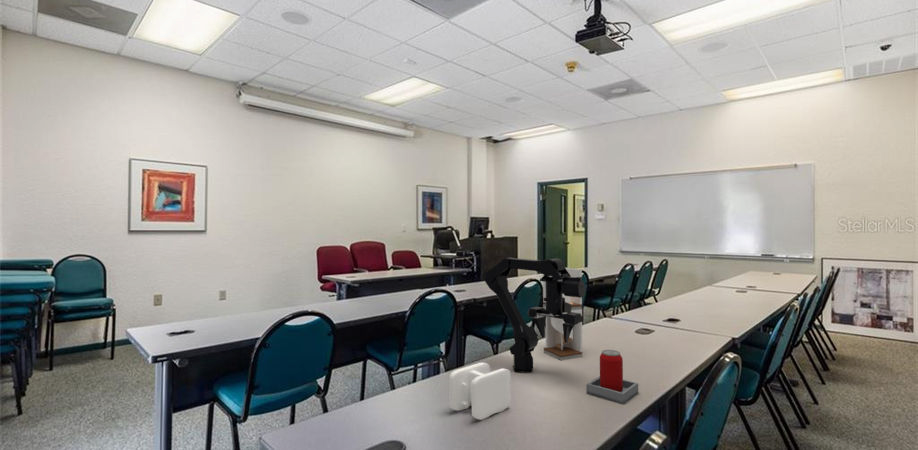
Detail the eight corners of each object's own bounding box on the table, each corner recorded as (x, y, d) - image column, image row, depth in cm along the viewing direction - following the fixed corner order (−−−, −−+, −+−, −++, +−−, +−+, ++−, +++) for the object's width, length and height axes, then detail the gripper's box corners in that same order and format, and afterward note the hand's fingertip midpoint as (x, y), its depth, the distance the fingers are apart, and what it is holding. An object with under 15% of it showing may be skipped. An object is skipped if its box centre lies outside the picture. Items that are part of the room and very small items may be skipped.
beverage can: (618, 386, 133) (618, 349, 134) (626, 395, 127) (625, 355, 127) (597, 386, 134) (596, 349, 134) (603, 394, 127) (603, 355, 127)
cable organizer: (473, 425, 110) (473, 380, 110) (447, 412, 118) (447, 370, 118) (511, 408, 120) (511, 368, 120) (485, 397, 127) (484, 359, 128)
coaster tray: (586, 393, 130) (586, 384, 130) (602, 383, 138) (602, 374, 138) (623, 404, 122) (623, 394, 122) (638, 392, 130) (638, 383, 130)
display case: (543, 352, 173) (542, 268, 173) (564, 349, 178) (563, 267, 178) (561, 360, 163) (560, 271, 163) (582, 356, 167) (581, 269, 168)
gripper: (590, 295, 144) (590, 340, 143) (544, 289, 157) (544, 331, 157) (573, 299, 136) (573, 347, 136) (526, 293, 149) (527, 336, 149)
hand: (554, 339), depth 144 cm, fingers open, 9 cm apart
